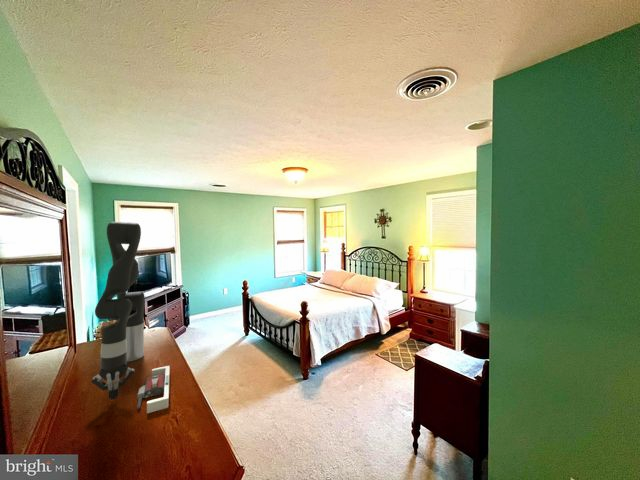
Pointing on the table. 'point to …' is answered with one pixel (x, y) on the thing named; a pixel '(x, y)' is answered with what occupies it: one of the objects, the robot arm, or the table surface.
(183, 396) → the table surface
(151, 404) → the white c-shaped bracket
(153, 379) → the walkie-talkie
